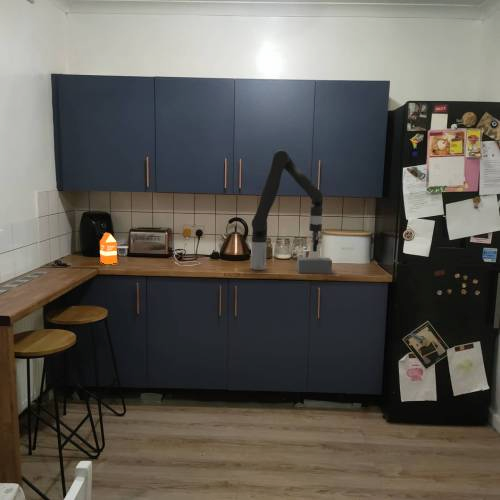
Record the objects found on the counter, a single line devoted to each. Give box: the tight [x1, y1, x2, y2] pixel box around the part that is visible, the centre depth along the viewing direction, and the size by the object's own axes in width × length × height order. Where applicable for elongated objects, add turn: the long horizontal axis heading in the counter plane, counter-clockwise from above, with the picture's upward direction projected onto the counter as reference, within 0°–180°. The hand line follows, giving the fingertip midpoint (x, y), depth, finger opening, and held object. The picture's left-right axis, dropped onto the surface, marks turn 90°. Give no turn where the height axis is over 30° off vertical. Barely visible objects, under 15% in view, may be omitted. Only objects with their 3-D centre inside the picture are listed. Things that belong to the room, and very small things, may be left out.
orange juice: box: [99, 232, 118, 265], centre depth 297 cm, size 8×9×20 cm
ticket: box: [308, 239, 322, 258], centre depth 282 cm, size 6×1×14 cm, turn 91°
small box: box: [302, 249, 310, 257], centre depth 302 cm, size 8×6×10 cm
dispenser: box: [296, 256, 333, 274], centre depth 283 cm, size 20×10×9 cm, turn 91°
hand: (314, 251), depth 282 cm, fingers closed on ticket, 1 cm apart
